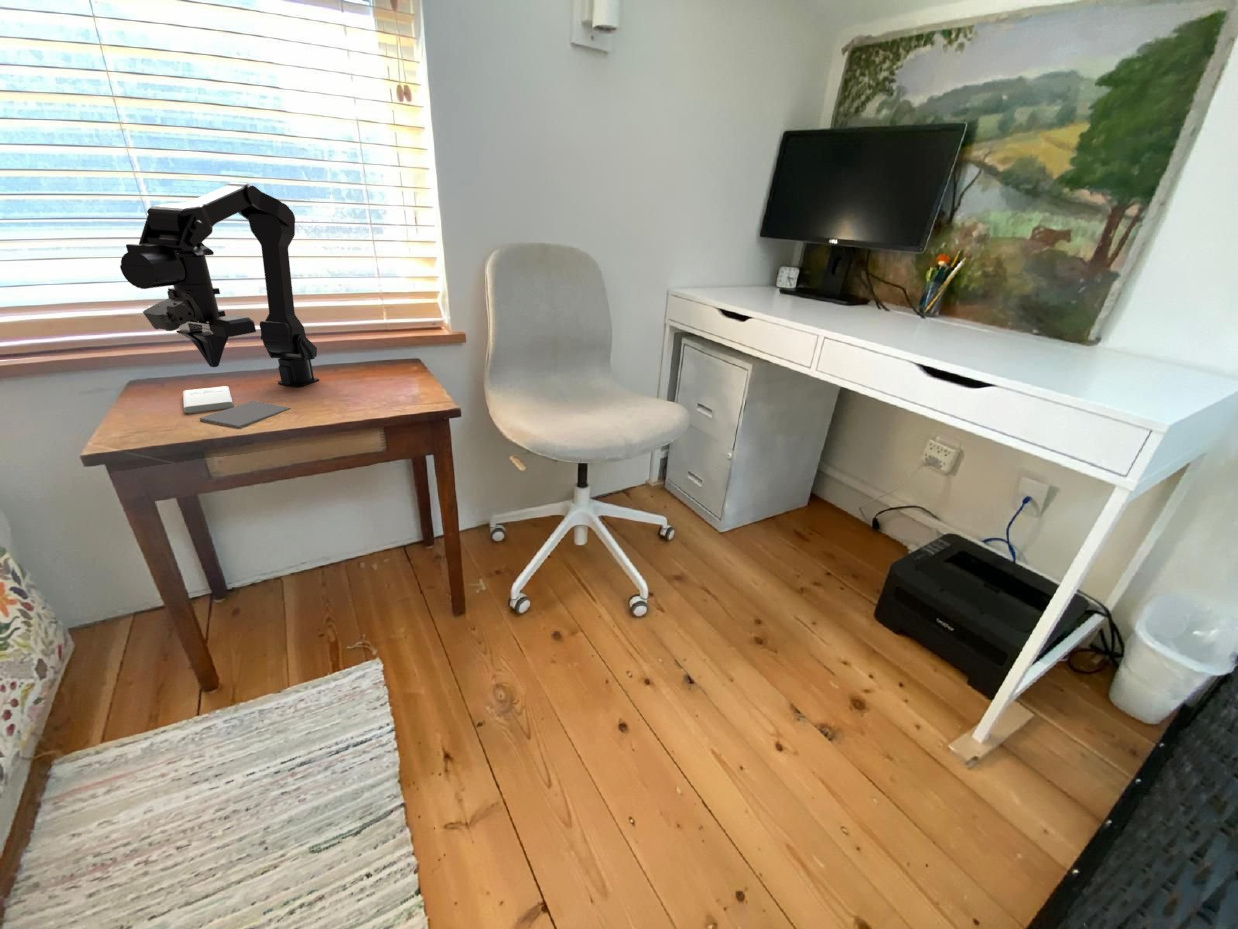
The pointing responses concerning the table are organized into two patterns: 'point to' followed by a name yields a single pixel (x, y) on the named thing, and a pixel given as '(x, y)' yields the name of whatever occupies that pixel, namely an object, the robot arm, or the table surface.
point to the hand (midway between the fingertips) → (214, 366)
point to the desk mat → (244, 414)
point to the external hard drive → (207, 399)
